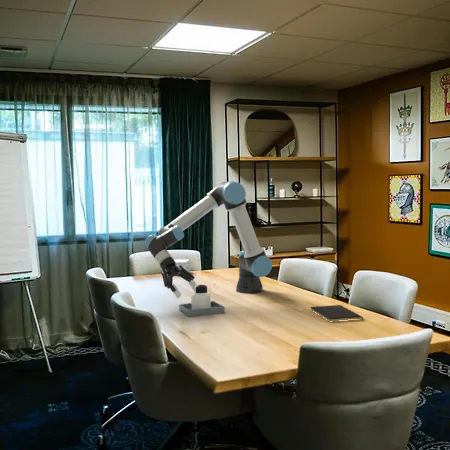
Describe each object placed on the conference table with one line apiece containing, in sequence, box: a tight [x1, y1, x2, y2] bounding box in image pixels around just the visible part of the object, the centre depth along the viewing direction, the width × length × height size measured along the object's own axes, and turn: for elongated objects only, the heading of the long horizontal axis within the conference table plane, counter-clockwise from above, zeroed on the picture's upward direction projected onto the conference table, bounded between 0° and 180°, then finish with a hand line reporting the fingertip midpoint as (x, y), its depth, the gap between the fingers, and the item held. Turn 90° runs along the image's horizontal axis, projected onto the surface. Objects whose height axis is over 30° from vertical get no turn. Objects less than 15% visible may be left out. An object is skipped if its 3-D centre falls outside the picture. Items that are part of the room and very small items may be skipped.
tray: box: [178, 300, 226, 317], centre depth 250 cm, size 18×14×3 cm
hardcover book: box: [309, 304, 364, 322], centre depth 239 cm, size 16×23×2 cm
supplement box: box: [167, 259, 191, 276], centre depth 360 cm, size 17×13×9 cm
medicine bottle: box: [190, 284, 212, 310], centre depth 249 cm, size 7×7×12 cm
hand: (188, 294), depth 254 cm, fingers open, 13 cm apart
